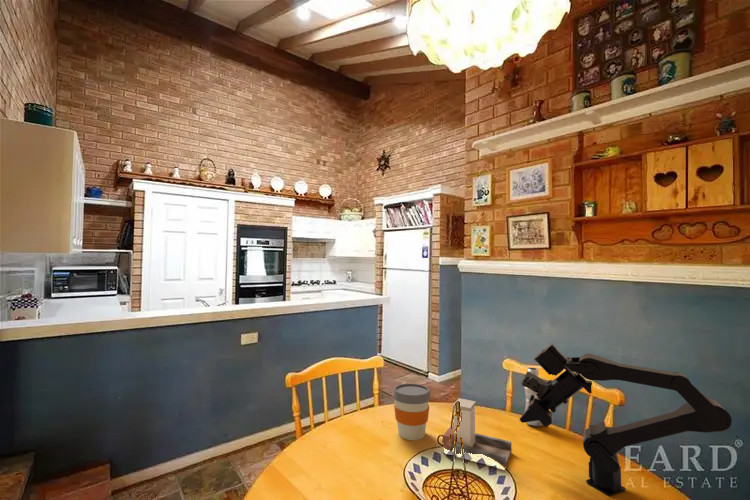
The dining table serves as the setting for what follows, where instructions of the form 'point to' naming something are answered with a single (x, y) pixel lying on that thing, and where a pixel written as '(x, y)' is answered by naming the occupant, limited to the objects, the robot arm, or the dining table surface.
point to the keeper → (466, 422)
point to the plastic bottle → (528, 395)
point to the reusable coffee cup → (411, 410)
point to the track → (482, 446)
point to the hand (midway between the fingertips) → (520, 420)
